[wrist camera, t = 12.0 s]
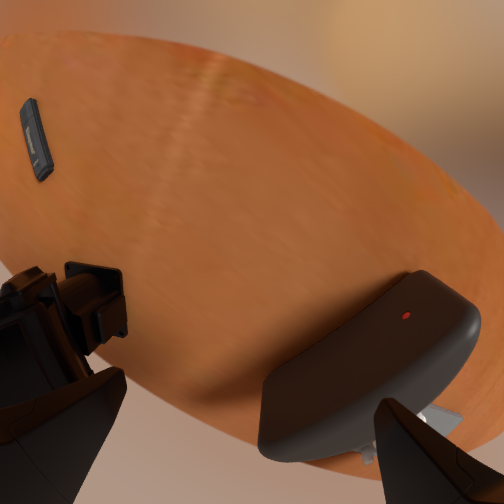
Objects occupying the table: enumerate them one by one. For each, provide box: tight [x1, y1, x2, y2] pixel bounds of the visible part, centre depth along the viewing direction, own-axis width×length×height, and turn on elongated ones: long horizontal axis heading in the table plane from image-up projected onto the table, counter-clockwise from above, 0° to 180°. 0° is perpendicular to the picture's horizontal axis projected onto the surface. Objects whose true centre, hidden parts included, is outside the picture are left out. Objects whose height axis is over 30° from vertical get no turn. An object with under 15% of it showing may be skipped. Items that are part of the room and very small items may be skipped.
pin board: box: [351, 403, 463, 465], centre depth 22 cm, size 18×9×3 cm, turn 60°
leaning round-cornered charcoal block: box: [258, 270, 481, 463], centre depth 17 cm, size 16×5×9 cm, turn 130°
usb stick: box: [20, 98, 54, 181], centre depth 19 cm, size 10×3×2 cm, turn 27°
